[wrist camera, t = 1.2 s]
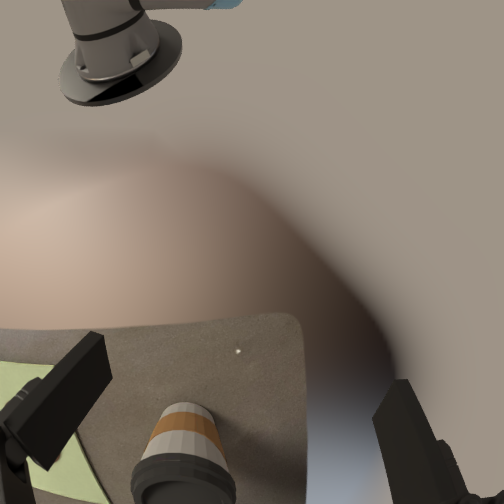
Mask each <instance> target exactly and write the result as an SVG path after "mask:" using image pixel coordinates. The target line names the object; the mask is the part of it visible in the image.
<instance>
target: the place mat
mask: <svg viewBox="0 0 504 504" xmlns="http://www.w3.org/2000/svg"><path fill="white" fill-rule="evenodd" d="M54 367H55V365H38V364H25V363H14V362H5V361H0V411H1V409H2V408H3V407H4V406H5V405H6V404H7V403H8V402H9V401H10V400H11V399H12V398H13V397H14V396H16V393H17V392H18V391H19V390H21V388H22V387H23V386H24V385H25V384H26V383H27V382H28V381H30V380H32V379H34V378H36V377H39V378H41V379H43V378H44V377H45V376H46V375H47V374H48V373H49V372H50V371H51V370H52V369H53V368H54ZM26 459H27V462H28V467H29V473H30V479H31V484H32V487H35V488H38V489H41V490H44V491H48V492H51V493H55V494H58V495H62V496H66V497H70V498H74V499H79V500H83V501H88V502H94V503H99V504H111V503H110V501H109V499H108V498H107V496H106V494H105V493H104V491H103V489H102V487H101V485H100V484H99V482H98V480H97V478H96V476H95V474H94V472H93V470H92V468H91V466H90V464H89V462H88V460H87V458H86V455H85V453H84V451H83V449H82V446H81V444H80V442H79V439H78V437H77V434H76V432H74V434H73V435H72V437H71V438H70V440H69V441H68V442H67V444H66V445H65V447H64V448H63V450H62V451H61V453H60V454H59V456H58V457H57V459H56V461H55V462H54V464H53V465H52V467H51V468H50V470H49V471H48V472H47V471H46V470H44V469H43V468H41V467H40V466H38V465H37V464H35V463H34V462H33V461H32V459H31V458H30V457H29V456H28V457H27V458H26Z"/></svg>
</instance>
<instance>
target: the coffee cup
mask: <svg viewBox="0 0 504 504" xmlns="http://www.w3.org/2000/svg"><path fill="white" fill-rule="evenodd" d="M131 492H132V495H133V497H134V502H135V504H235V502H236V487H235V482H234V480H233V478H232V477H231V475H230V474H229V471H228V468H227V461H226V458H225V454H224V451H223V448H222V444H221V441H220V438H219V434H218V431H217V428H216V426H215V423H214V420H213V418H212V415H211V414H210V413H209V412H208V411H207V410H206V409H204V408H203V407H202V406H199V405H197V404H195V403H189V402H179V403H176V404H173V405H171V406H169V407H167V408H166V410H165V411H164V412H163V414H162V416H161V418H160V420H159V421H158V423H157V425H156V427H155V429H154V431H153V433H152V435H151V437H150V439H149V441H148V443H147V446H146V448H145V450H144V454H143V456H142V459H141V461H140V462H139V463H138V464H137V465H136V466H135V468H134V470H133V472H132V479H131Z"/></svg>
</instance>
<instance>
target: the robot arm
mask: <svg viewBox="0 0 504 504" xmlns="http://www.w3.org/2000/svg"><path fill="white" fill-rule="evenodd" d="M61 1H62V4H63V7H64V10H65V13H66V16H67V18H68V21H69V24H70V26H71V29H72V31H73V34H74V36H75V67H76V70H77V73H78V75H79V76H80V78H81V79H83V80H84V81H86V82H89V83H97V84H99V83H108V82H113V81H116V80H120V79H122V78H125V77H127V76H129V75H132V74H134V73H135V72H137V71H139V70H140V69H142V68H143V67H145V66H146V65H147V64H148V63H149V62H151V60H152V59H153V58H154V57H155V56H156V54H157V52H158V50H159V47H160V41H159V35H158V32H157V30H156V28H155V27H154V25H153V24H152V22H151V20H150V19H149V17H148V16H147V14H146V12H145V10H153V9H154V10H155V9H184V8H185V9H187V8H188V9H190V8H191V9H204V10H209V9H231V8H234V7H236V6H238V5H239V4H240V3H241V2H242V1H243V0H61ZM112 379H113V377H112V373H111V369H110V364H109V360H108V355H107V350H106V345H105V340H104V335H101V334H98V333H96V332H93V331H90V332H89V333H88V334H87V335H86V336H85V337H84V338H83V339H82V340H81V341H80V342H79V343H78V344H77V345H76V346H75V347H74V348H73V349H72V350H71V351H70V352H69V353H68V354H67V355H66V356H65V357H64V358H63V359H62V360H61V361H60V362H59V363H58V364H57V365H56V366H55V367H54V368H53V369H52V370H51V371H50V372H49V373H48V374H47V375H46V376H45V377H44V378H43V379H41V378H39V377H36V378H34V379H32V380H30V381H28V382H27V383H26V384H25V385H24V386H23V387H22V388H21V390H19V391H18V392H17V393H16V396H14V397H13V398H12V399H11V400H10V401H9V402H8V403H7V404H6V405H5V406H4V407H3V408H2V409H1V411H0V504H36V502H35V498H34V494H33V489H32V484H31V479H30V473H29V467H28V462H27V459H26V458H27V457H28V456H29V457H30V458H31V459H32V461H33V462H34V463H35V464H37V465H38V466H40V467H41V468H43V469H44V470H46V471H47V472H48V471H49V470H50V468H51V467H52V465H53V464H54V462H55V461H56V459H57V457H58V456H59V454H60V453H61V451H62V450H63V448H64V447H65V445H66V444H67V442H68V441H69V440H70V438H71V437H72V435H73V434H74V432H75V431H76V429H77V428H78V426H79V425H80V423H81V422H82V421H83V419H84V418H85V416H86V415H87V413H88V412H89V411H90V409H91V408H92V406H93V405H94V404H95V402H96V401H97V399H98V398H99V397H100V395H101V394H102V392H103V391H104V390H105V388H106V387H107V385H108V384H109V383H110V381H111V380H112ZM372 421H373V424H374V427H375V431H376V434H377V438H378V442H379V446H380V449H381V453H382V457H383V461H384V465H385V469H386V473H387V477H388V482H389V486H390V491H391V495H392V500H393V504H504V490H502V491H501V492H500V493H498V494H497V495H496V496H494V497H487V498H480V497H479V496H478V495H476V494H470V493H469V492H468V490H467V488H466V485H465V482H464V480H463V477H462V475H461V472H460V470H459V467H458V465H457V462H456V460H455V458H454V455H453V453H452V450H451V448H450V446H449V445H448V444H447V443H445V441H444V440H438V441H437V440H436V438H435V436H434V434H433V432H432V429H431V427H430V425H429V422H428V420H427V418H426V416H425V414H424V412H423V409H422V407H421V405H420V403H419V401H418V399H417V397H416V395H415V393H414V391H413V389H412V387H411V385H410V383H409V381H408V379H399V380H394V381H393V383H392V385H391V386H390V388H389V390H388V392H387V394H386V396H385V397H384V399H383V401H382V403H381V404H380V406H379V408H378V409H377V411H376V413H375V414H374V416H373V417H372Z"/></svg>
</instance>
